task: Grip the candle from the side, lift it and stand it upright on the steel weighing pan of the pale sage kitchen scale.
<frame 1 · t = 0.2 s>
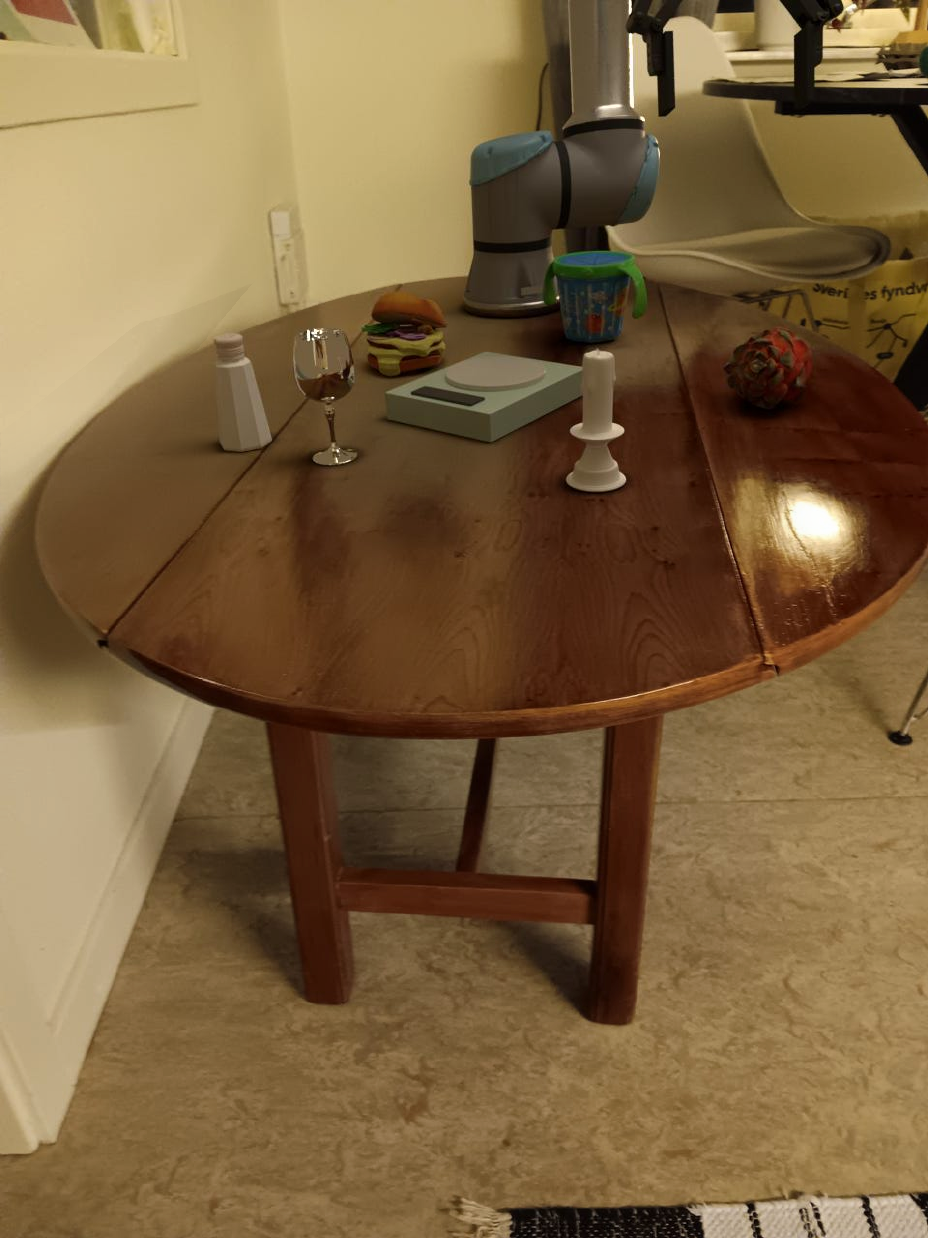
hand: (735, 109, 91), 28 cm above the table, tool tilted 20°, fingers open, 13 cm apart
snack cup: (592, 338, 128), on the table
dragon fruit: (764, 403, 102), on the table
candle: (595, 483, 86), on the table
wineglass: (335, 458, 94), on the table
pepper shaker: (246, 444, 99), on the table
cheeseburger: (406, 366, 121), on the table
kitchen scale: (488, 406, 105), on the table
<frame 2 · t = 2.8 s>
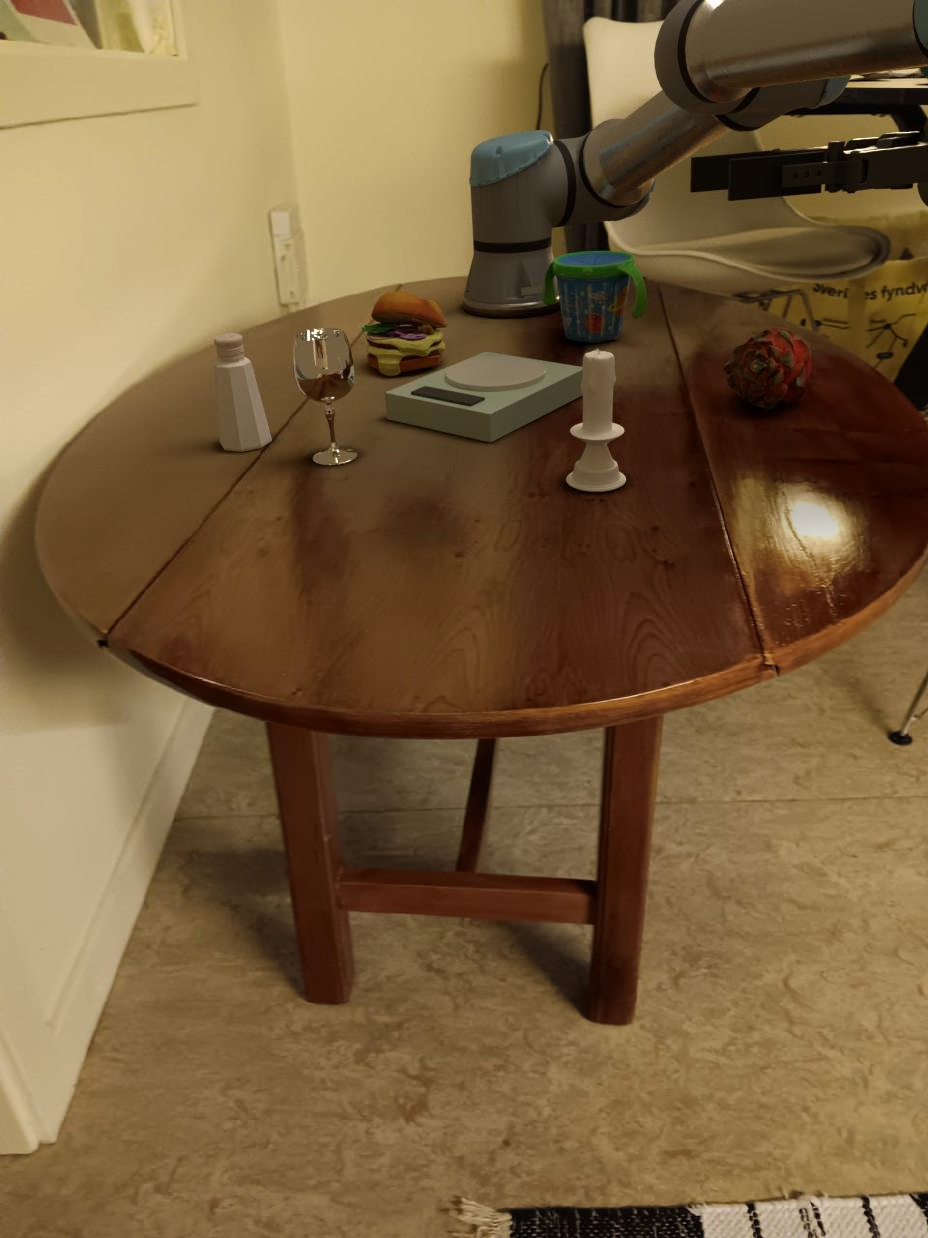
hand: (708, 177, 75), 24 cm above the table, tool horizontal, fingers open, 13 cm apart
nothing on the table moved.
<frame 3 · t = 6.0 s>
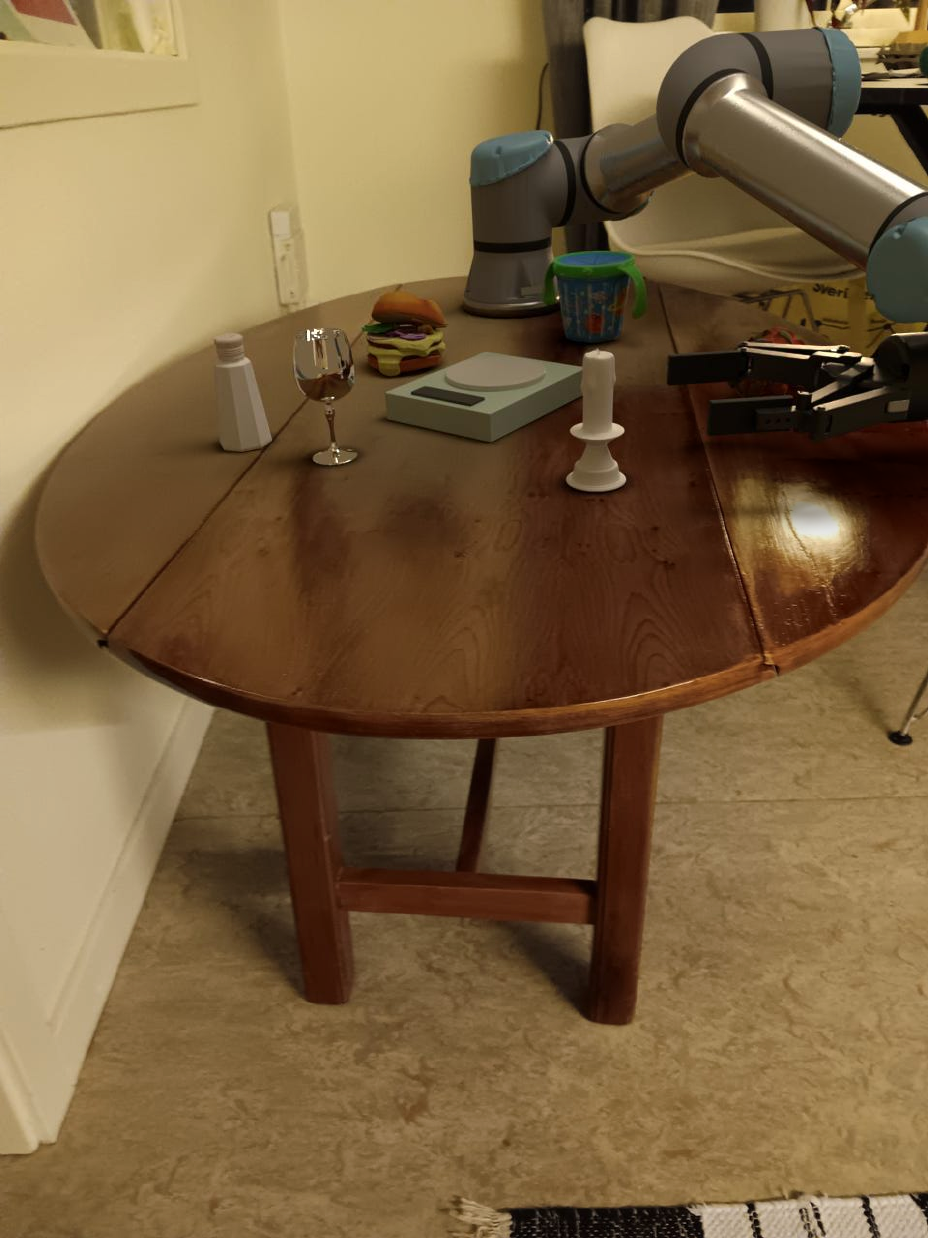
hand: (686, 392, 82), 8 cm above the table, tool horizontal, fingers open, 13 cm apart
nothing on the table moved.
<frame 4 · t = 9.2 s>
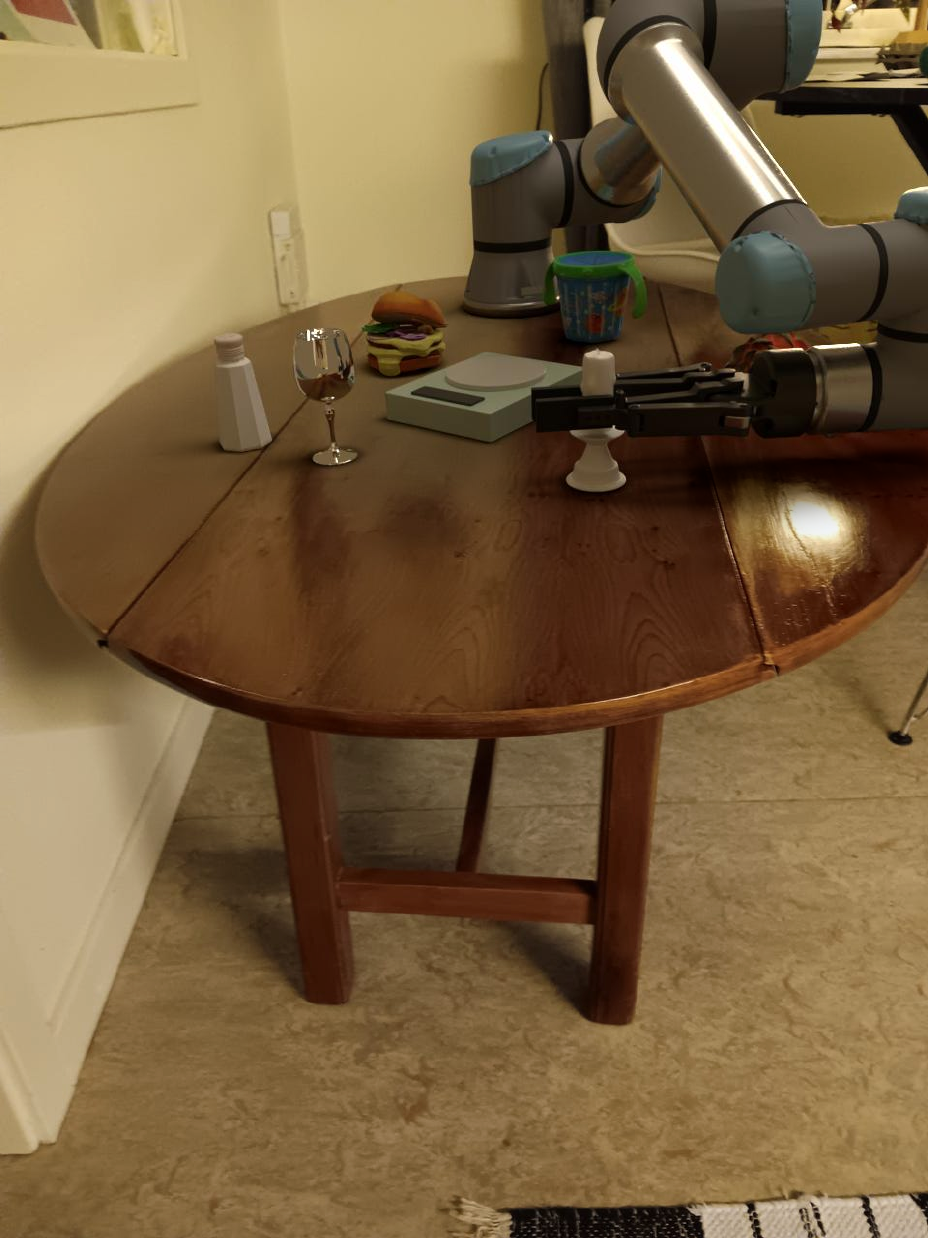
hand: (534, 409, 82), 7 cm above the table, tool horizontal, fingers closed on candle, 2 cm apart
candle: (595, 483, 86), on the table, touching gripper
everything else where it was.
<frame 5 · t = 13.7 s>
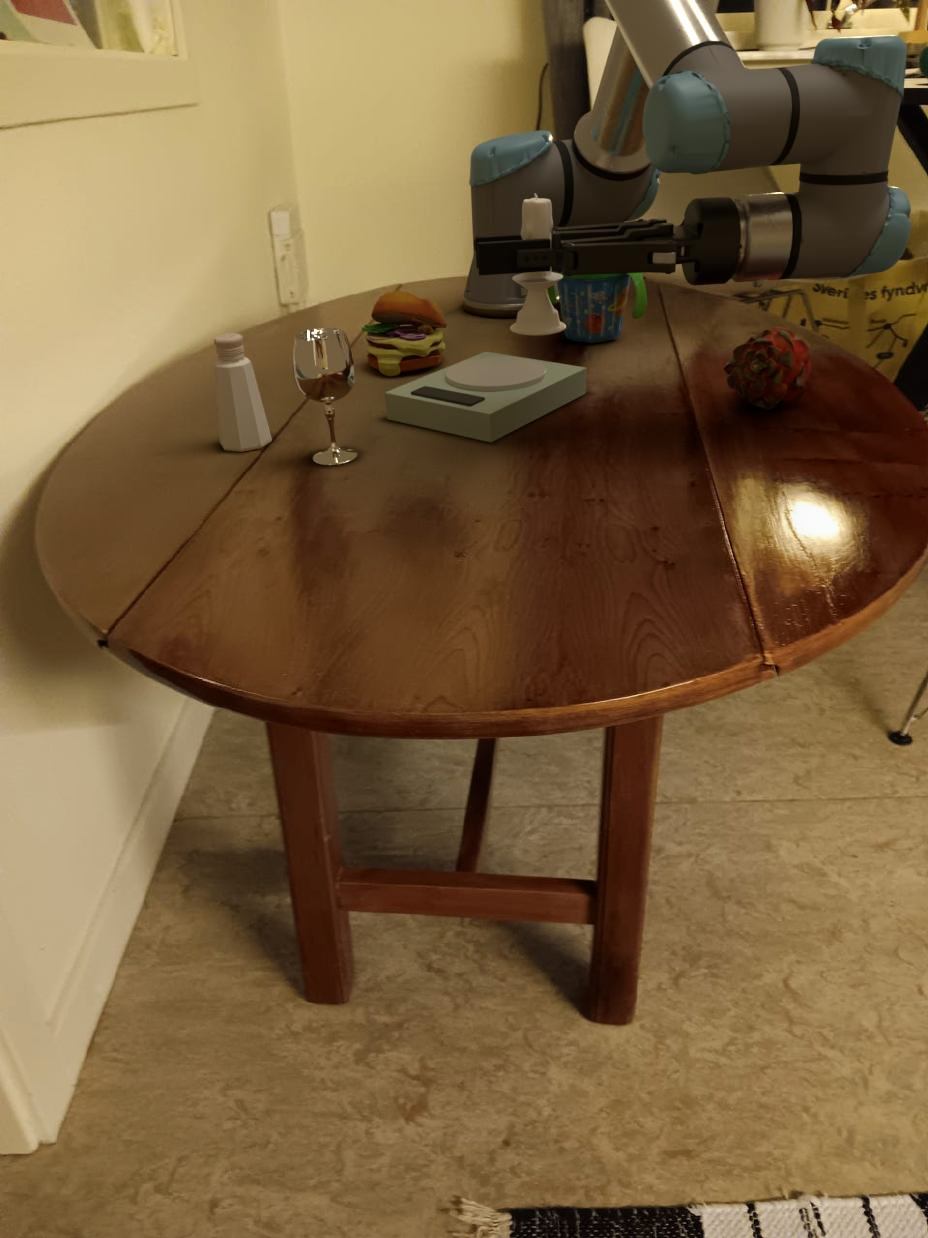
hand: (477, 255, 88), 18 cm above the table, tool horizontal, fingers closed on candle, 2 cm apart
candle: (537, 331, 91), point 10 cm above the table, touching gripper
everything else where it was.
when the fingers open (10 cm above the table, at t = 18.0 s): candle stays where it is, resting on kitchen scale.
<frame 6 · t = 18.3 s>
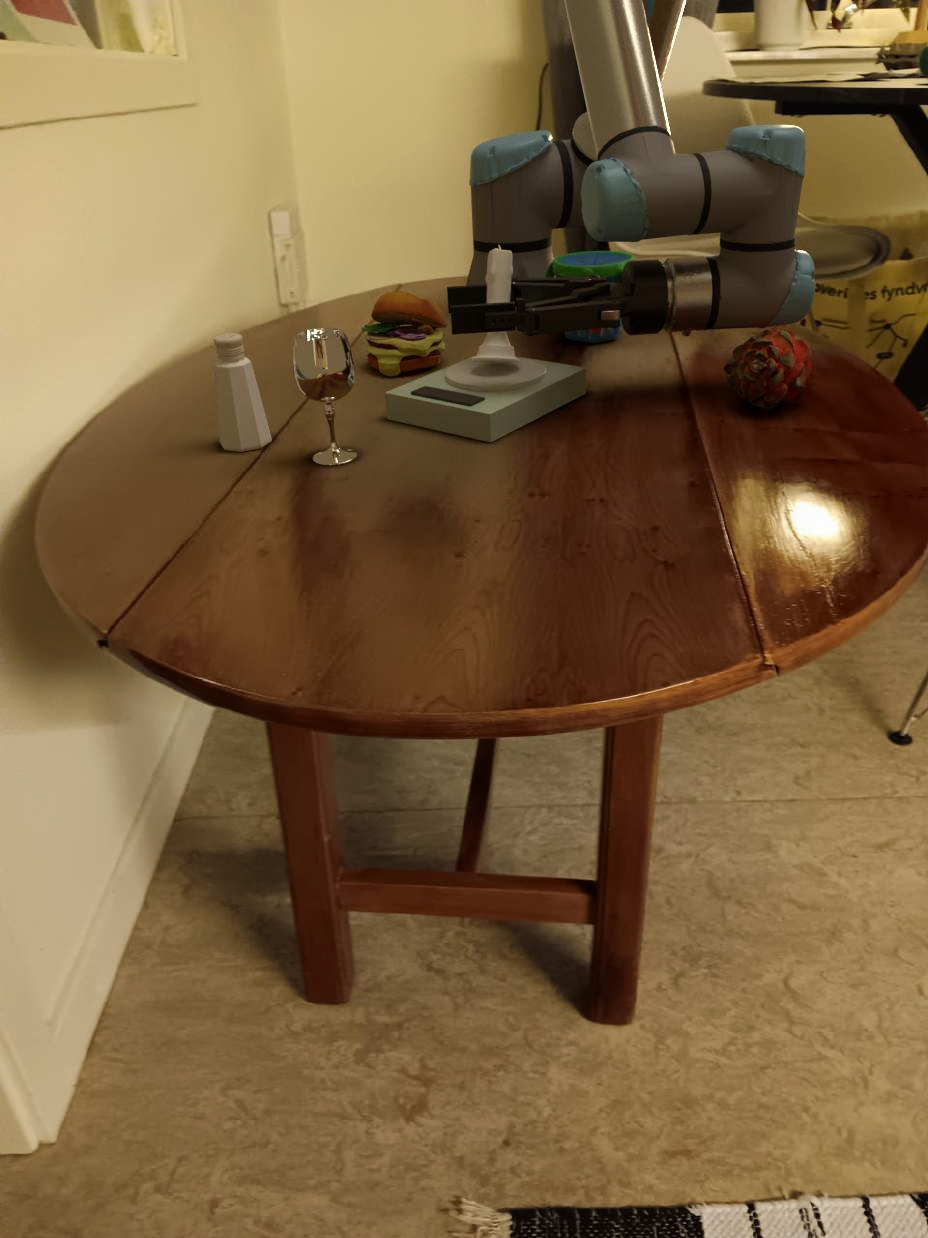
hand: (449, 309, 101), 10 cm above the table, tool horizontal, fingers open, 8 cm apart
candle: (495, 363, 104), point 4 cm above the table, touching kitchen scale
everything else where it was.
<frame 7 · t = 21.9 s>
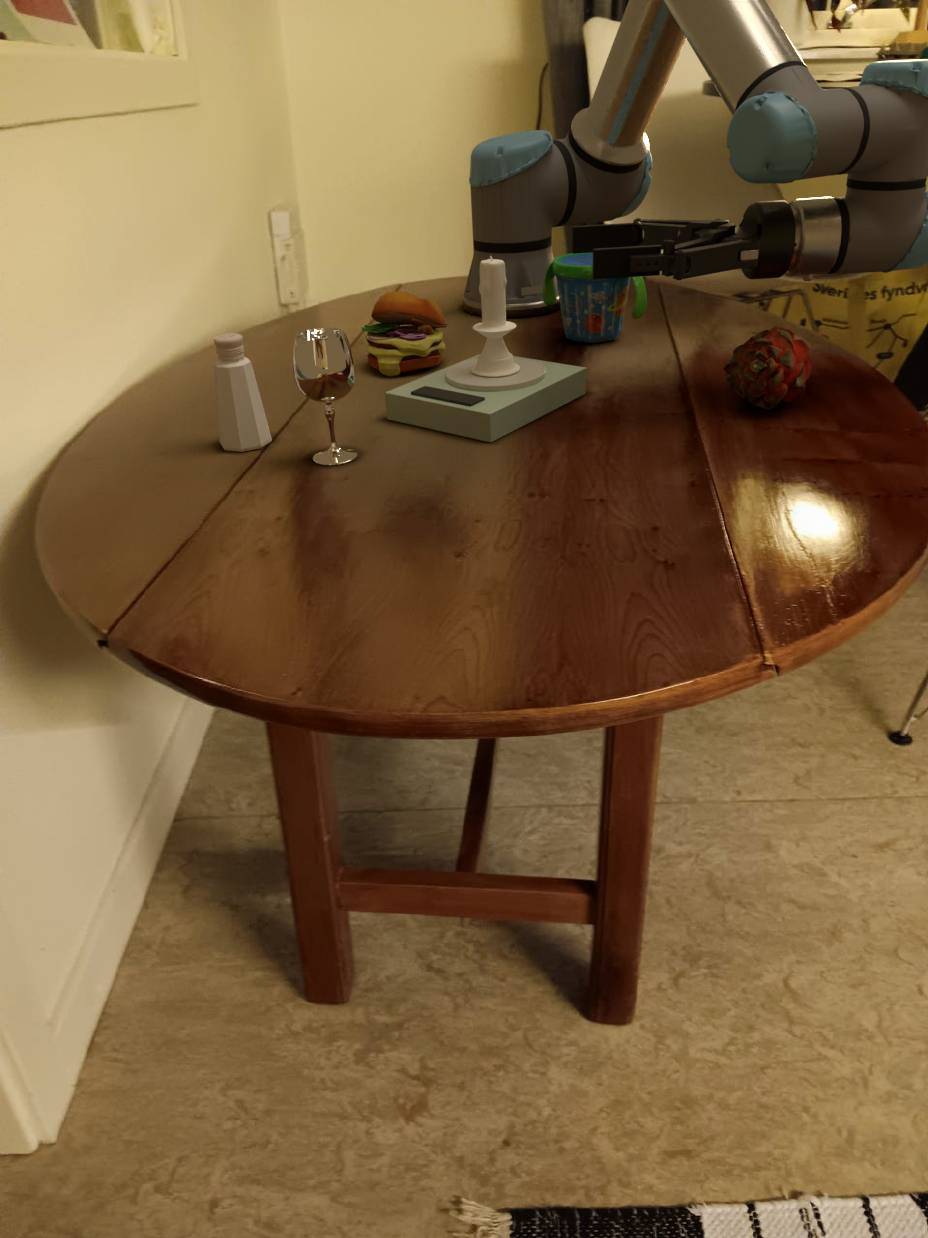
hand: (581, 251, 99), 15 cm above the table, tool horizontal, fingers open, 13 cm apart
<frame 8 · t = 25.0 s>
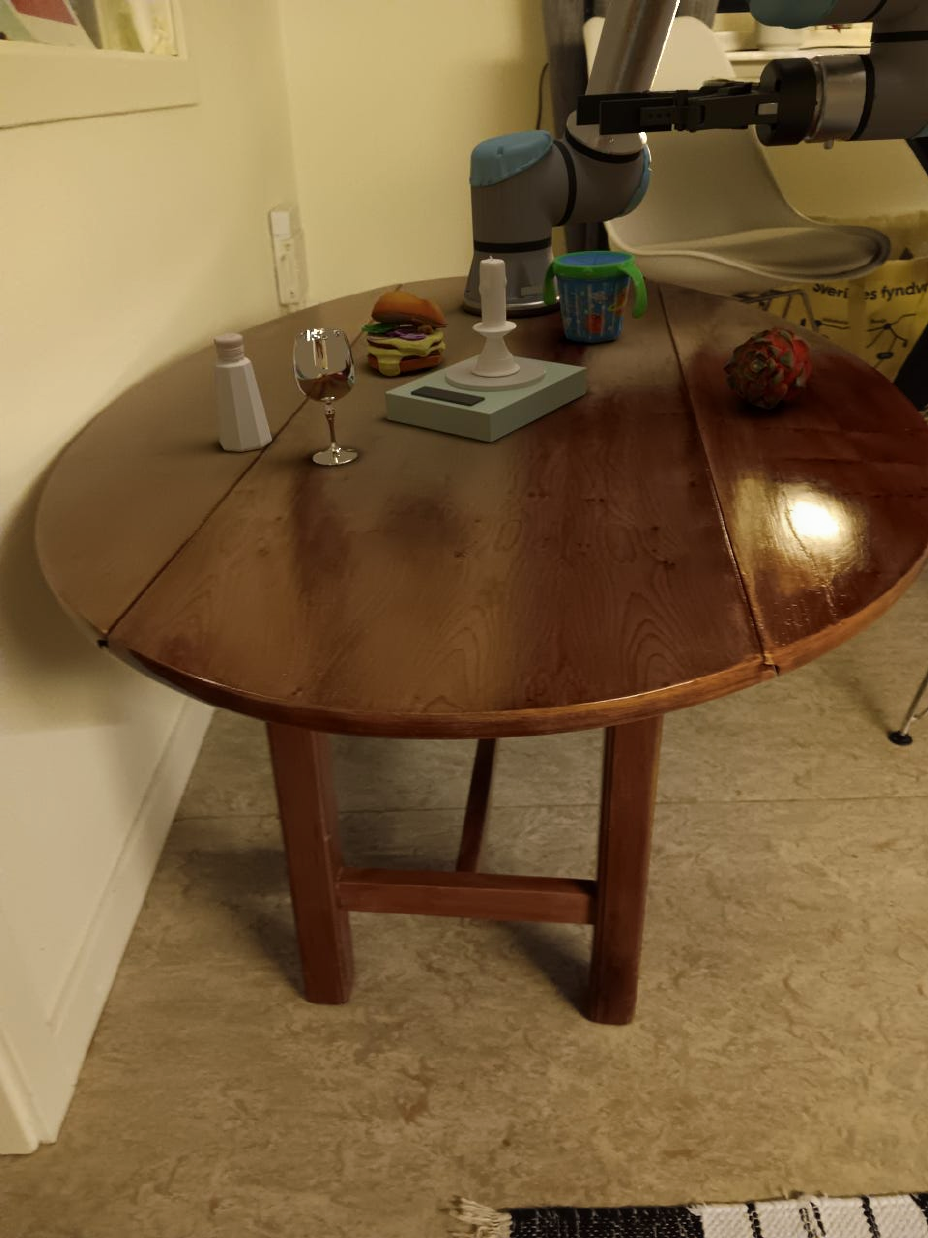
hand: (587, 114, 92), 28 cm above the table, tool horizontal, fingers open, 13 cm apart
at the end: candle inside the target area on the kitchen scale (0.0 cm from its centre), point 3.4 cm above the kitchen scale's base; candle tilted 0°; the gripper is holding nothing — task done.
